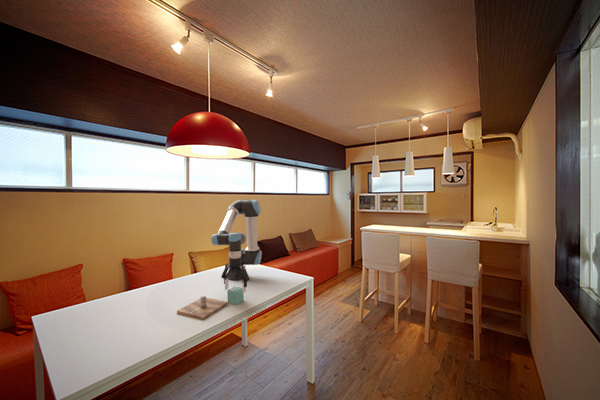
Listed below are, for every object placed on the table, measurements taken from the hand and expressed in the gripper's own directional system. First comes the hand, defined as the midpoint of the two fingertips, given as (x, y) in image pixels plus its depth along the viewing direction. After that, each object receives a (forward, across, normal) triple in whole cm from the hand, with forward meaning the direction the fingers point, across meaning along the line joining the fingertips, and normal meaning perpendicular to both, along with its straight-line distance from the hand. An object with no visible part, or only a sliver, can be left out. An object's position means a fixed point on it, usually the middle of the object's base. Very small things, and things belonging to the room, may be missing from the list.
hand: (235, 290), depth 151 cm
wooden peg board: (+7, -12, -14) cm, 20 cm away
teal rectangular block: (+7, 0, 0) cm, 7 cm away
